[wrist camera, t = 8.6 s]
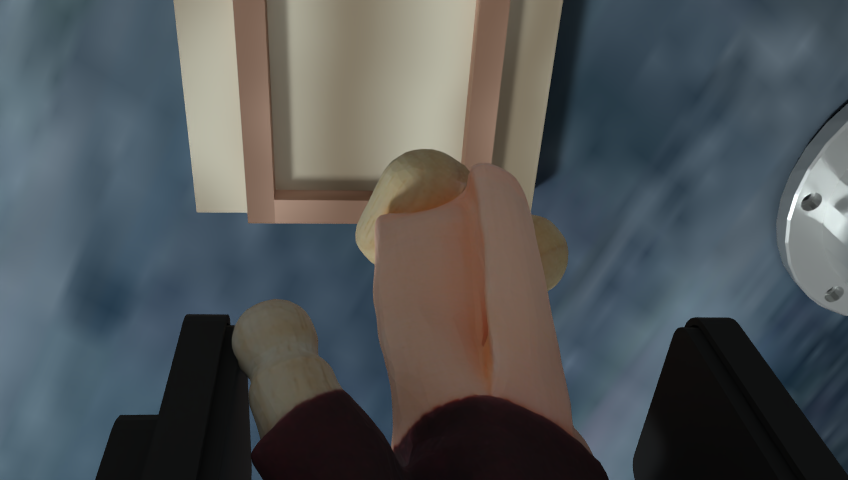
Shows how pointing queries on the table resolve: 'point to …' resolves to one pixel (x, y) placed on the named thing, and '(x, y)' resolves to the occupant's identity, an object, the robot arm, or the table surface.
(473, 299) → the grandmother figurine
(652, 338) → the table surface
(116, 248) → the table surface
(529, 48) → the display base
